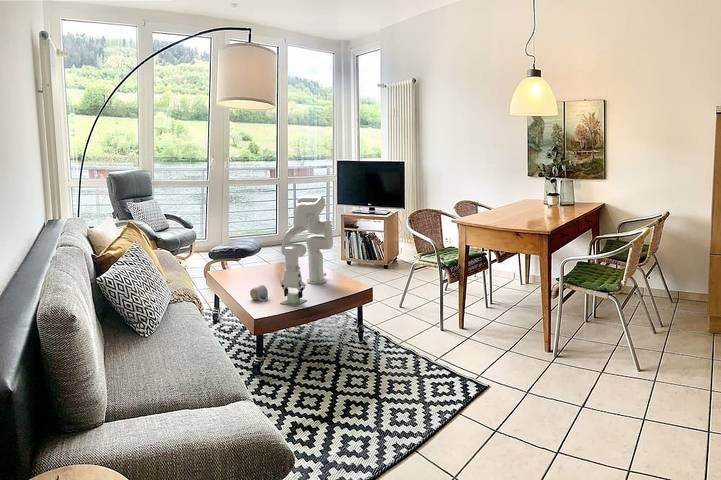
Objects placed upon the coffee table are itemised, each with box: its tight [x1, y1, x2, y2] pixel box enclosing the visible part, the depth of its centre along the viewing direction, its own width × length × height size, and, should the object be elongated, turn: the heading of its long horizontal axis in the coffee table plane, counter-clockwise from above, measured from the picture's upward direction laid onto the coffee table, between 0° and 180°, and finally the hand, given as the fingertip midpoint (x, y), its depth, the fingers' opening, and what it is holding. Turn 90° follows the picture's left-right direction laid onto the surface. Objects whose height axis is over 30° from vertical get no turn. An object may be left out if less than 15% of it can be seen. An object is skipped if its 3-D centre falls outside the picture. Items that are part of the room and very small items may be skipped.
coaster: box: [279, 298, 308, 307], centre depth 272 cm, size 11×11×1 cm
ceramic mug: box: [249, 284, 269, 302], centre depth 278 cm, size 11×8×8 cm
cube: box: [286, 291, 301, 303], centre depth 272 cm, size 5×5×5 cm
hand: (293, 296), depth 272 cm, fingers open, 9 cm apart
